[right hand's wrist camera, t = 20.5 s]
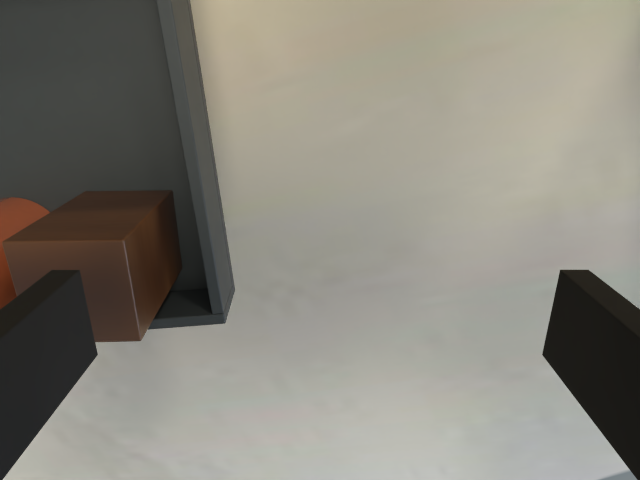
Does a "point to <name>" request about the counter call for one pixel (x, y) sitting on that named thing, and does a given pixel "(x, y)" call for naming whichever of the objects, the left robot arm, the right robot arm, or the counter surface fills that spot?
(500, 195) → the counter surface
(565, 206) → the counter surface
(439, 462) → the counter surface
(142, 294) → the walnut block
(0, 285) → the terracotta cylinder
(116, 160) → the tray
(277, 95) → the counter surface
